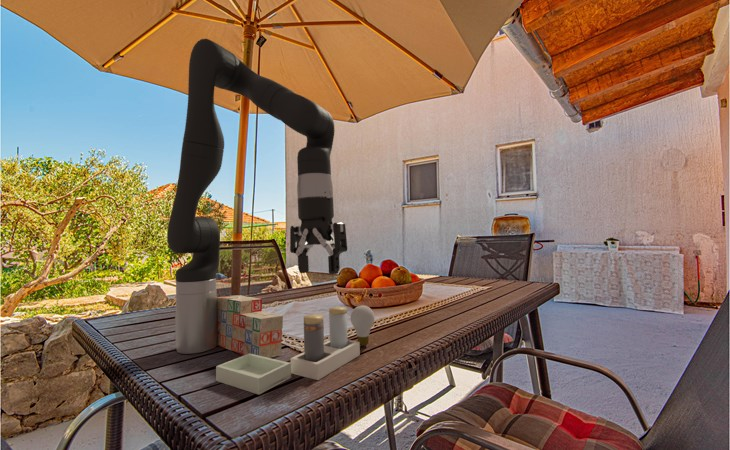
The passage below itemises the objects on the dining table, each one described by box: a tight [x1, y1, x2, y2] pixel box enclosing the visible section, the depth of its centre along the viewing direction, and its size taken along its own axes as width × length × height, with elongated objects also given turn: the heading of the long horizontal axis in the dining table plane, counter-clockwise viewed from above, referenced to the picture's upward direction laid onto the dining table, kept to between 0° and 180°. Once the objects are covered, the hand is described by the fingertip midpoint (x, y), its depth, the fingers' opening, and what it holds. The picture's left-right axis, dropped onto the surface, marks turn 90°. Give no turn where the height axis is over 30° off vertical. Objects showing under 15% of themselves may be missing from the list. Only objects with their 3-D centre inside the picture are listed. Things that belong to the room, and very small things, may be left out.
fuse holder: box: [290, 339, 361, 381], centre depth 73 cm, size 7×15×3 cm, turn 149°
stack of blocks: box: [217, 294, 284, 359], centre depth 84 cm, size 21×6×12 cm, turn 49°
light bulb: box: [350, 305, 375, 348], centre depth 84 cm, size 6×6×10 cm
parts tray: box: [215, 353, 292, 395], centre depth 66 cm, size 12×8×3 cm, turn 58°
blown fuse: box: [303, 313, 325, 362], centre depth 70 cm, size 4×4×11 cm
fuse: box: [328, 306, 349, 349], centre depth 77 cm, size 4×4×11 cm
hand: (318, 273), depth 72 cm, fingers open, 8 cm apart
